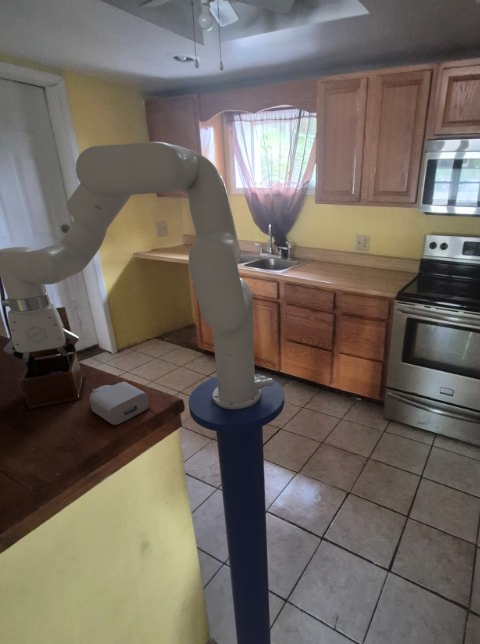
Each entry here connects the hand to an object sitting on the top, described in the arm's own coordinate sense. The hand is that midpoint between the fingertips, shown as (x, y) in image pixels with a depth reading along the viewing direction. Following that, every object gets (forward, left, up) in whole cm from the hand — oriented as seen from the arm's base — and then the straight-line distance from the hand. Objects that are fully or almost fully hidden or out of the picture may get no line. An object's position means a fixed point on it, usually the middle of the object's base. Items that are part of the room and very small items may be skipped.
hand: (50, 370), depth 92 cm
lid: (0, -6, +8) cm, 10 cm away
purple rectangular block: (0, 0, -6) cm, 6 cm away
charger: (-13, +12, -7) cm, 19 cm away
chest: (0, 0, -7) cm, 7 cm away
